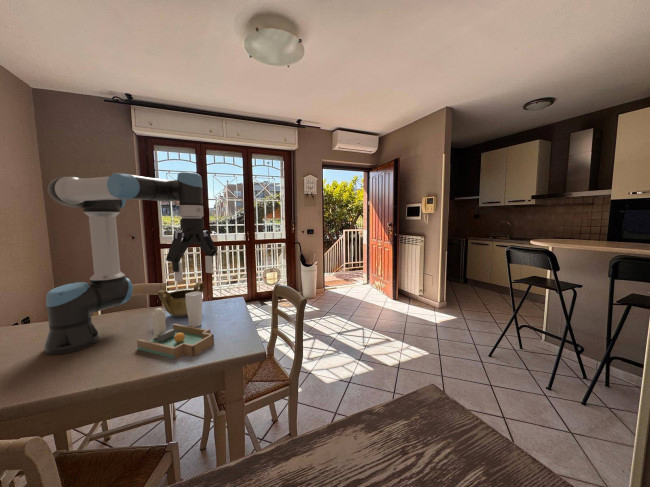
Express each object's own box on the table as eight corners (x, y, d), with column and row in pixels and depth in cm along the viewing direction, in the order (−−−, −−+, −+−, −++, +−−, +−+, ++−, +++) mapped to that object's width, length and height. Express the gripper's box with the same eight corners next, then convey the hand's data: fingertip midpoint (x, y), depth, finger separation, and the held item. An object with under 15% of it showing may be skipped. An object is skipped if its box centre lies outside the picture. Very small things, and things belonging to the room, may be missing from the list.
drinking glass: (196, 329, 114) (195, 296, 113) (183, 327, 116) (181, 295, 114) (206, 322, 121) (205, 291, 119) (194, 321, 122) (192, 290, 121)
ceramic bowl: (170, 326, 117) (168, 294, 116) (151, 318, 126) (149, 288, 124) (213, 310, 136) (212, 283, 135) (194, 305, 145) (192, 279, 143)
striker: (150, 339, 101) (148, 310, 100) (164, 332, 107) (162, 305, 106) (161, 341, 99) (159, 312, 98) (175, 335, 105) (173, 307, 104)
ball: (172, 343, 99) (171, 334, 99) (180, 339, 102) (179, 330, 102) (179, 344, 98) (178, 335, 98) (187, 340, 101) (186, 331, 101)
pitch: (137, 349, 97) (136, 339, 96) (175, 331, 112) (174, 322, 111) (186, 361, 89) (185, 350, 88) (219, 340, 104) (219, 331, 103)
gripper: (168, 218, 78) (172, 286, 80) (225, 217, 102) (227, 270, 104) (150, 217, 81) (154, 284, 83) (210, 217, 104) (212, 269, 106)
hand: (195, 276), depth 93 cm, fingers open, 13 cm apart
